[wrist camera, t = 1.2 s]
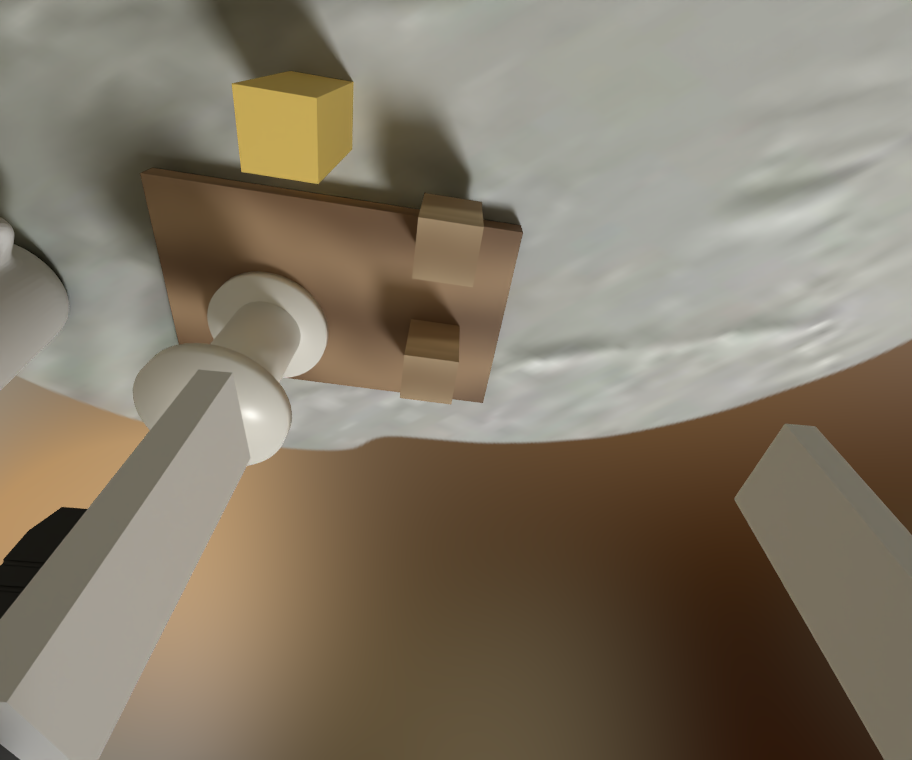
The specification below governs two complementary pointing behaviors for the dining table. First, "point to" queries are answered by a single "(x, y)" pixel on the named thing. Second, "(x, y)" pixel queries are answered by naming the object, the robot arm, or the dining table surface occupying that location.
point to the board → (347, 276)
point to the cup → (26, 305)
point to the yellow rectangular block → (293, 125)
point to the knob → (245, 355)
